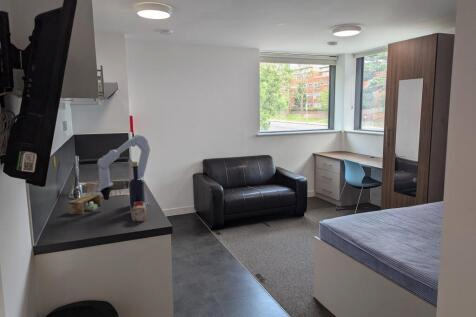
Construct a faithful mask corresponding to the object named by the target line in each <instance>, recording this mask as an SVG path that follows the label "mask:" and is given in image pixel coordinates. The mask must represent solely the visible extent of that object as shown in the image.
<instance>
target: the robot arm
mask: <svg viewBox="0 0 476 317" xmlns="http://www.w3.org/2000/svg"><path fill="white" fill-rule="evenodd" d="M148 142H149V141H148V139H147V138H146V137H145V136H144V135H141V134H135V135H134V136H133V137H131V138H129V139H128V140H126V141H125V142H124V143H123V144H122V145H120V146H119V147H118V148H116V149H110V150H109V151H108V153H107V154H105V155H102V157H100V158H99V159H98V160H97V162H96V163H97V165H98V174H99V175H98V176H99V177H98V178H99V184H98V187H97V188H96V190H97V192H100V193H101V196H102V197H103V199H104V201H109V199H110V194H111V191H112V187H113V186H114V182H111V177H110V168H109V166H110V164H112V163H113V162H115V161H116V160H117V159H119V158H120V155H121V154H122V153H123V152H125V151H126V150H128V149H129V148H130V147H136V146H137V147H138V149H139V150H140V156H139V159H138V162H137V166H138V178H139V179H141V180H142V181H143V182H145V181H144V180H145V179H144V176H145V172H146V168H147V164H148V159H149V157H150V152H151V149H150V145H149V143H148ZM144 193H145V204H146V206H147V205H150V203H149V197H148V196H149V195H148V193H147V192H146V191H144Z"/></svg>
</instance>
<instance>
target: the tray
mask: <svg viewBox="0 0 476 317" xmlns="http://www.w3.org/2000/svg"><path fill="white" fill-rule="evenodd" d="M98 209H99V205H98V204H93V202H89V204H88V202H87V201H86V202H84V211H96V210H98Z"/></svg>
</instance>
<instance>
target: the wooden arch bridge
mask: <svg viewBox="0 0 476 317" xmlns="http://www.w3.org/2000/svg"><path fill="white" fill-rule="evenodd" d="M86 201H87V202H88V204H89V202H93V204H98V206H102V205H103V204H102V203H103V201H102V194H96V193H95V194H94V193H93V194H91V193H88V194H85V195H83V196H80V197H78V198H76V199H73V200H70V201H69V202H68V214H69V215H70V214H71V215H84V214H85V210H84V202H86Z"/></svg>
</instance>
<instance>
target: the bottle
mask: <svg viewBox="0 0 476 317" xmlns="http://www.w3.org/2000/svg"><path fill="white" fill-rule="evenodd" d="M131 168H132V173H133V174H132V175H133V178H132V179H130V180H129V182H128V193H129V194H128V196H129V210H130V212H129V213H130V214H131V208H132V210H133V206H134V202H139V201H140V202H145V193H144V192H145V183H144V182H145V181H144V182H143V181H142V180H141V179H139V178H138V161H132V166H131Z"/></svg>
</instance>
